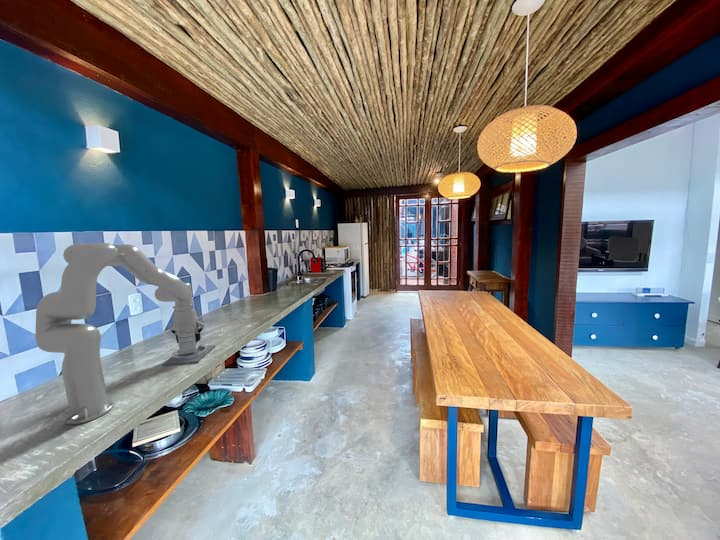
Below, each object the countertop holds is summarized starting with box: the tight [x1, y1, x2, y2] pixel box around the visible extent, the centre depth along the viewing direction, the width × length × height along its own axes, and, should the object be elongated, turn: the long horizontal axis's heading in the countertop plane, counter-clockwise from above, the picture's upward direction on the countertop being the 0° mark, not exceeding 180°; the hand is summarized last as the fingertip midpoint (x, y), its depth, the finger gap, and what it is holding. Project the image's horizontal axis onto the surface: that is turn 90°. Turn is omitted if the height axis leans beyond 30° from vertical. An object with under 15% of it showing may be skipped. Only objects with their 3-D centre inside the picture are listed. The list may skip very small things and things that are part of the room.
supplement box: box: [177, 327, 200, 353], centre depth 142 cm, size 7×7×13 cm
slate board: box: [161, 344, 216, 367], centre depth 144 cm, size 20×16×1 cm
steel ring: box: [171, 344, 208, 361], centre depth 144 cm, size 15×15×2 cm
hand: (188, 341), depth 143 cm, fingers closed on supplement box, 8 cm apart
